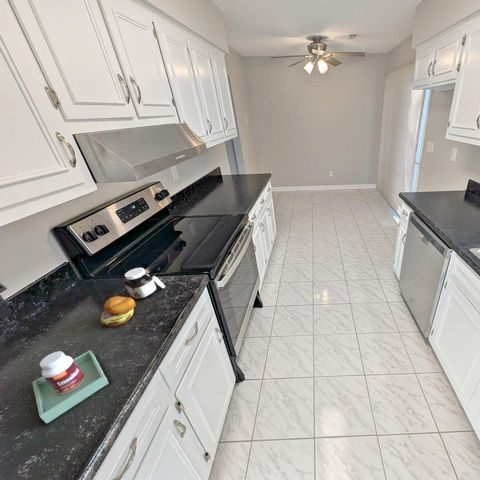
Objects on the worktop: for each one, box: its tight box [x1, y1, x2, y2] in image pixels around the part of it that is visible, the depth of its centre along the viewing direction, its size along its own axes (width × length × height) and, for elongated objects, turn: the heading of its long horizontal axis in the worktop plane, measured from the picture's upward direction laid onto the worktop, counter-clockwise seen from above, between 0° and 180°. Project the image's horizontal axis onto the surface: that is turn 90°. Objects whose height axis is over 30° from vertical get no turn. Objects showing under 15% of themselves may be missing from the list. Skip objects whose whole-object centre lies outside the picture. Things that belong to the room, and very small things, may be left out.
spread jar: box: [124, 267, 167, 301], centre depth 108 cm, size 12×11×12 cm
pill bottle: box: [39, 350, 85, 395], centre depth 70 cm, size 6×6×11 cm
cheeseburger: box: [100, 295, 137, 327], centre depth 95 cm, size 10×11×10 cm
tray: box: [32, 349, 110, 425], centre depth 72 cm, size 15×13×3 cm
